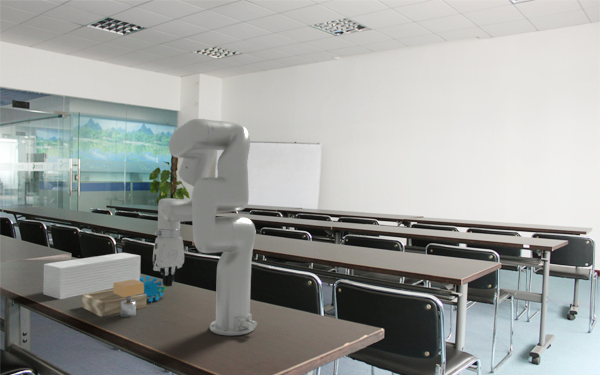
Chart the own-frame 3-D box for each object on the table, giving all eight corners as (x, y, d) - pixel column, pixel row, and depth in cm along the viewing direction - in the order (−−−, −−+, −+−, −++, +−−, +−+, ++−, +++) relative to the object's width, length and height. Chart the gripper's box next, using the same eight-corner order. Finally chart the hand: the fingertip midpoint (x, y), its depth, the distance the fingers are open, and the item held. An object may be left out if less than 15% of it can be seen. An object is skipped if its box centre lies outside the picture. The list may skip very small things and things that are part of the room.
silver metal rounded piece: (138, 315, 137) (139, 294, 137) (124, 318, 134) (125, 296, 133) (131, 311, 140) (131, 291, 140) (117, 314, 136) (118, 293, 136)
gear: (136, 299, 147) (134, 274, 153) (130, 309, 150) (129, 283, 156) (169, 300, 153) (166, 275, 159) (163, 309, 156) (160, 284, 163)
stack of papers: (123, 278, 184) (123, 252, 184) (140, 282, 178) (140, 255, 178) (43, 294, 157) (43, 264, 157) (60, 299, 152) (60, 268, 151)
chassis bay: (146, 307, 145) (146, 294, 145) (100, 316, 134) (100, 303, 134) (126, 298, 154) (126, 287, 154) (81, 307, 143) (81, 294, 143)
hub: (143, 293, 137) (144, 282, 137) (123, 297, 132) (123, 286, 132) (133, 289, 141) (133, 279, 141) (113, 293, 136) (113, 282, 136)
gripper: (154, 236, 150) (153, 291, 151) (193, 233, 161) (191, 284, 162) (143, 234, 155) (142, 287, 156) (181, 231, 166) (180, 280, 167)
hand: (167, 285), depth 159 cm, fingers closed
